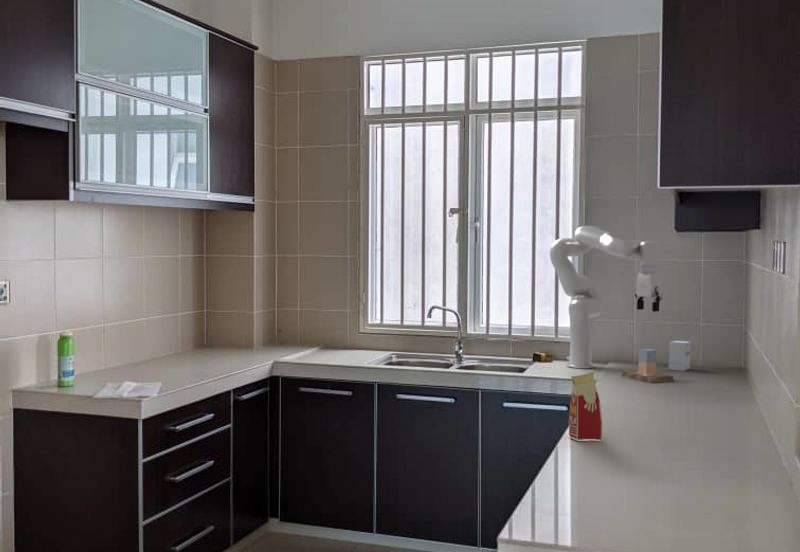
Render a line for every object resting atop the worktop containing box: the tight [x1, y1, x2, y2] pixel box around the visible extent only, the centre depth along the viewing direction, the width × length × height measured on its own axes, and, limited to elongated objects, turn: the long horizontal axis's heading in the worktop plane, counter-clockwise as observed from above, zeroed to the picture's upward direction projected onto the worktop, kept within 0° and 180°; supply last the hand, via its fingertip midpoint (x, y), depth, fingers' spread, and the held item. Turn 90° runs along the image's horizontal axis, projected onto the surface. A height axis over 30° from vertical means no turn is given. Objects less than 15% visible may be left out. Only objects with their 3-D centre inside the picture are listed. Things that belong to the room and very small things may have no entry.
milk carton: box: [568, 370, 603, 441], centre depth 240 cm, size 9×9×20 cm
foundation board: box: [621, 369, 674, 384], centre depth 343 cm, size 18×12×2 cm, turn 23°
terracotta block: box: [637, 360, 657, 375], centre depth 343 cm, size 5×5×5 cm
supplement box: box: [668, 340, 691, 372], centre depth 367 cm, size 7×7×13 cm
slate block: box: [638, 348, 657, 363], centre depth 342 cm, size 5×5×5 cm
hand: (647, 310), depth 346 cm, fingers open, 9 cm apart
